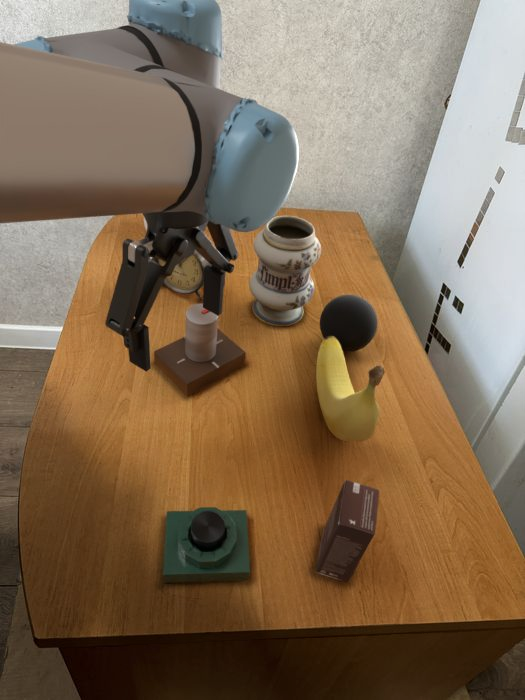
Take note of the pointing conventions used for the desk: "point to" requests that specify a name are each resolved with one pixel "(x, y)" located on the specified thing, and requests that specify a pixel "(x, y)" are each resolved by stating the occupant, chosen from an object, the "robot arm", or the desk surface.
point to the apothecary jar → (284, 270)
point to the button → (207, 530)
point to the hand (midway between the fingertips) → (178, 336)
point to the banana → (345, 395)
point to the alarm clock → (186, 274)
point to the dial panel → (198, 364)
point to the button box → (206, 565)
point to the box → (348, 530)
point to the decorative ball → (349, 322)
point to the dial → (200, 333)
